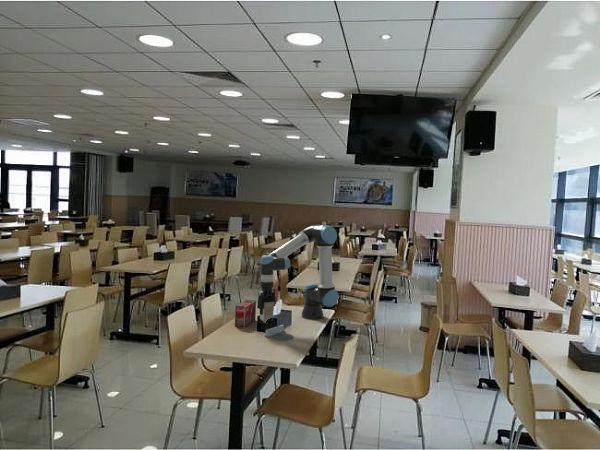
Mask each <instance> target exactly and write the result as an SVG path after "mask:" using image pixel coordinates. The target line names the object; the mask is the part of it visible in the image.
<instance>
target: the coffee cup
mask: <svg viewBox="0 0 600 450" xmlns="http://www.w3.org/2000/svg"><path fill="white" fill-rule="evenodd" d="M263 300H264V301H263ZM274 301H275V300H274V298H273V297H267V298H266V299H262V302H264V308H263V309H264V320H261V322H262V321H263V322H262V323H263V324H267V323H266V321H267V320H268V319H270V318H272V319H273V317H272V315H273V316H274V311H273V308H274V307H275V306H274Z"/></svg>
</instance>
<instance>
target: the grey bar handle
mask: <svg viewBox="0 0 600 450" xmlns="http://www.w3.org/2000/svg"><path fill="white" fill-rule="evenodd" d="M277 326H278V327H277ZM277 326H274V327H271V328H267V329H265V334H264V335H263V337H265V338H271V336H272V337H273V335H275V334H281V333H285V332H286V330H284V329H285V328H284V327H285V326H284V324H280V325H277Z"/></svg>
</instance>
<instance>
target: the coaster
mask: <svg viewBox="0 0 600 450" xmlns="http://www.w3.org/2000/svg"><path fill="white" fill-rule="evenodd" d="M272 338H273V339H274V340H277V341H291V340H293V339H294V335H293V334H290V333H285V332H280V333H277V334H275V335H272Z"/></svg>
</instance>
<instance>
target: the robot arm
mask: <svg viewBox="0 0 600 450" xmlns="http://www.w3.org/2000/svg"><path fill="white" fill-rule="evenodd" d="M337 238H338V234H337V230H336V229H335V228H334V227H333V226H332V225H331V226H330V225H328V224H312V225H310V226H307V227H306V228H304V229H302V230H301V231H299V232H298V234H297V235H296V236H295V237H293V238H292V239H290V240H289V241H287V242H286V243H285V244H283V245H280V246H279V247H278V248H277V249H275V250H274V251H272V252H270V253H269V254H264V255H262V256H260V257H261V258H260V261H259V262H260V288H261V291H258V292H257V293H258V294H257V297H258V298H257V303H256V308H257V309H259V319H260V320H261V321H262V320H264V309H263V308H264V302H262V299H266V298H267V297H273V298H274V300H275V301H274V307H276V304H277V300H276V289H275V288H274V272H275V271H285V270H289V268H291V260H290V259H289V257H288V256H290V255H292V254H293V253H294V252H295V251H297V250H298V249H300V248H301V247H303V246H304V245H308V244H310V243H315V246H316V247H317V248H318V270H319V271H318V273H319V274H318V275H319V276H318V277H319V283H307V284H305V287H304V304H303V305H304V306H303V309H302V311H301V318H304V319H306V320H320V319H321V320H322V319H323V318H324V311H323V307H328V308H329V307H333V306H335V305H336V304H337V302H338V300H339V297H340V296H339V292H338V291H337V290H336V286H335V284H334V283H333V259H332V257H333V256H332V254H333V253H332V252H333V251H332V250H333V249H332V248H333V247H334V244H335V243H336V240H337ZM263 301H264V300H263ZM322 306H323V307H322ZM273 312H275V309H274V308H273ZM272 318H274V314H273V315H272Z"/></svg>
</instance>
